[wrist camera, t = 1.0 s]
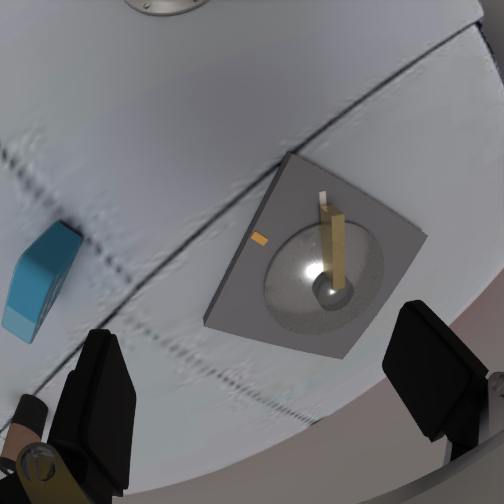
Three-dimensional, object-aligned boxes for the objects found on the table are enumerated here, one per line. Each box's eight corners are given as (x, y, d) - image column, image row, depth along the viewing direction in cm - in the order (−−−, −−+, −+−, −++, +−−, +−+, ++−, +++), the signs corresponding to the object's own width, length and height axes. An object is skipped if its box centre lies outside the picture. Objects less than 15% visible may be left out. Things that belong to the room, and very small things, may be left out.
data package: (57, 296, 39) (28, 350, 28) (34, 281, 37) (-1, 331, 26) (86, 234, 36) (51, 282, 25) (59, 216, 34) (16, 258, 23)
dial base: (287, 151, 36) (293, 154, 34) (420, 230, 44) (429, 236, 42) (203, 317, 44) (203, 327, 42) (338, 352, 53) (343, 360, 51)
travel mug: (54, 416, 51) (37, 488, 33) (28, 410, 49) (9, 478, 32) (41, 396, 48) (19, 472, 30) (15, 390, 46) (-10, 462, 28)
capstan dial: (376, 313, 47) (389, 329, 43) (271, 342, 46) (278, 363, 42) (383, 192, 38) (402, 203, 34) (251, 216, 36) (258, 230, 32)
